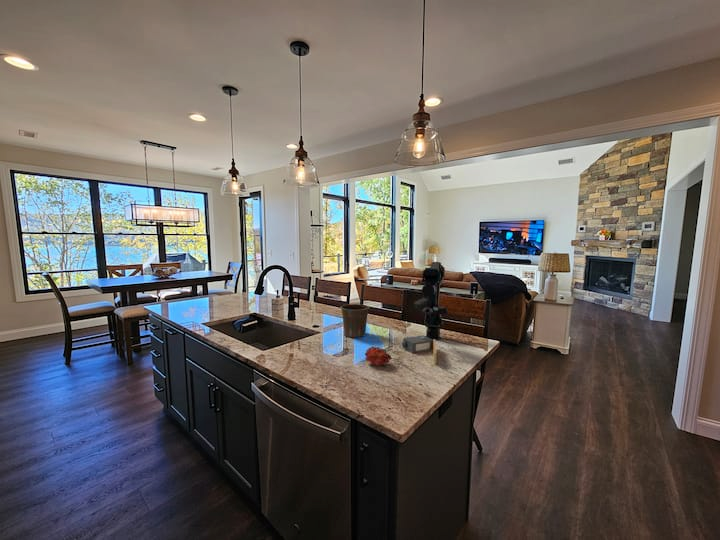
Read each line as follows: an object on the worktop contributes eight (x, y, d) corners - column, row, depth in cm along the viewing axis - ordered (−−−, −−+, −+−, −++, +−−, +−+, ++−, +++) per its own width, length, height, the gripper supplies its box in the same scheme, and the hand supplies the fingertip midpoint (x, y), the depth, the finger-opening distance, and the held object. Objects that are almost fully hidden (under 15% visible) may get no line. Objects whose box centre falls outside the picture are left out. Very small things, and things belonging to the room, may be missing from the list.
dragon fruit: (363, 365, 130) (389, 373, 126) (359, 360, 123) (386, 368, 119) (369, 346, 134) (394, 354, 130) (366, 340, 127) (392, 348, 123)
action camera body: (423, 344, 153) (423, 334, 152) (432, 349, 145) (433, 338, 145) (401, 348, 147) (401, 337, 147) (410, 353, 140) (410, 342, 139)
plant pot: (343, 329, 177) (343, 303, 176) (370, 331, 175) (370, 304, 174) (337, 338, 161) (337, 309, 160) (367, 339, 159) (367, 310, 158)
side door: (432, 349, 145) (433, 338, 145) (435, 349, 145) (435, 339, 144) (433, 364, 127) (434, 352, 127) (436, 364, 127) (437, 352, 126)
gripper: (406, 291, 151) (405, 321, 152) (429, 297, 134) (428, 331, 135) (424, 290, 155) (423, 319, 157) (448, 296, 138) (447, 328, 140)
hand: (429, 324), depth 147 cm, fingers closed
